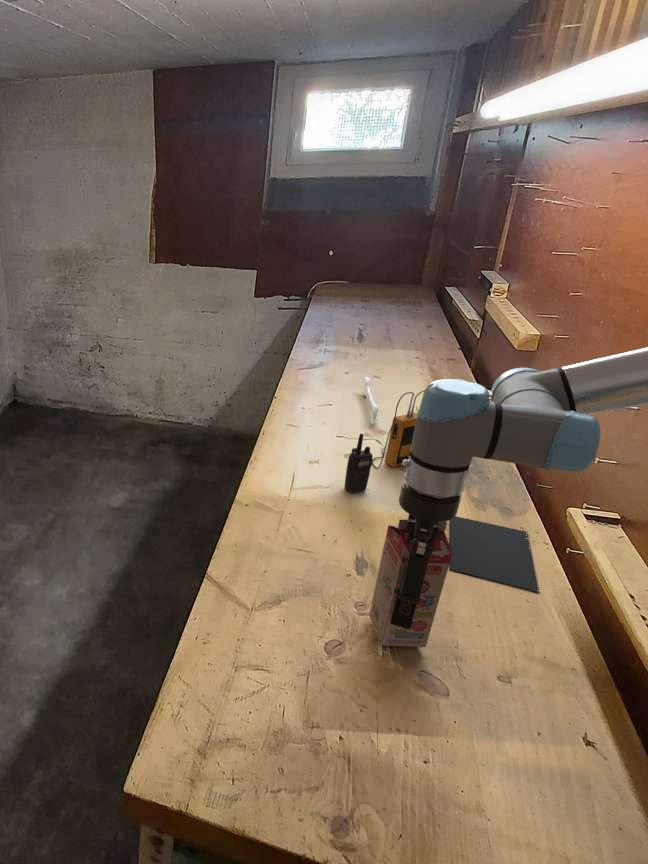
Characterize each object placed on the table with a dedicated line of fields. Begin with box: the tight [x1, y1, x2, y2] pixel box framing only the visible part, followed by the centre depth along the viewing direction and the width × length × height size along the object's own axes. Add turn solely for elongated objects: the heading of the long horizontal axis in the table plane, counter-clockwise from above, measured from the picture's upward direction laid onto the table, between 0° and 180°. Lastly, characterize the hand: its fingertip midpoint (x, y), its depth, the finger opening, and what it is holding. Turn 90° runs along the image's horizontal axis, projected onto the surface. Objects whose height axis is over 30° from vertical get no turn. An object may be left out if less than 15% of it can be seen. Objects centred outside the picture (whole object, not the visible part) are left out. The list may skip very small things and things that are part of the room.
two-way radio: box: [344, 433, 374, 493], centre depth 130 cm, size 6×4×15 cm
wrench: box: [362, 377, 379, 425], centre depth 172 cm, size 28×2×6 cm, turn 164°
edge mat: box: [448, 515, 540, 593], centre depth 111 cm, size 14×20×1 cm
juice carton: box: [368, 519, 452, 648], centre depth 88 cm, size 7×7×22 cm
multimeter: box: [371, 389, 425, 470], centre depth 142 cm, size 15×10×20 cm
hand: (402, 606), depth 90 cm, fingers closed on juice carton, 8 cm apart
